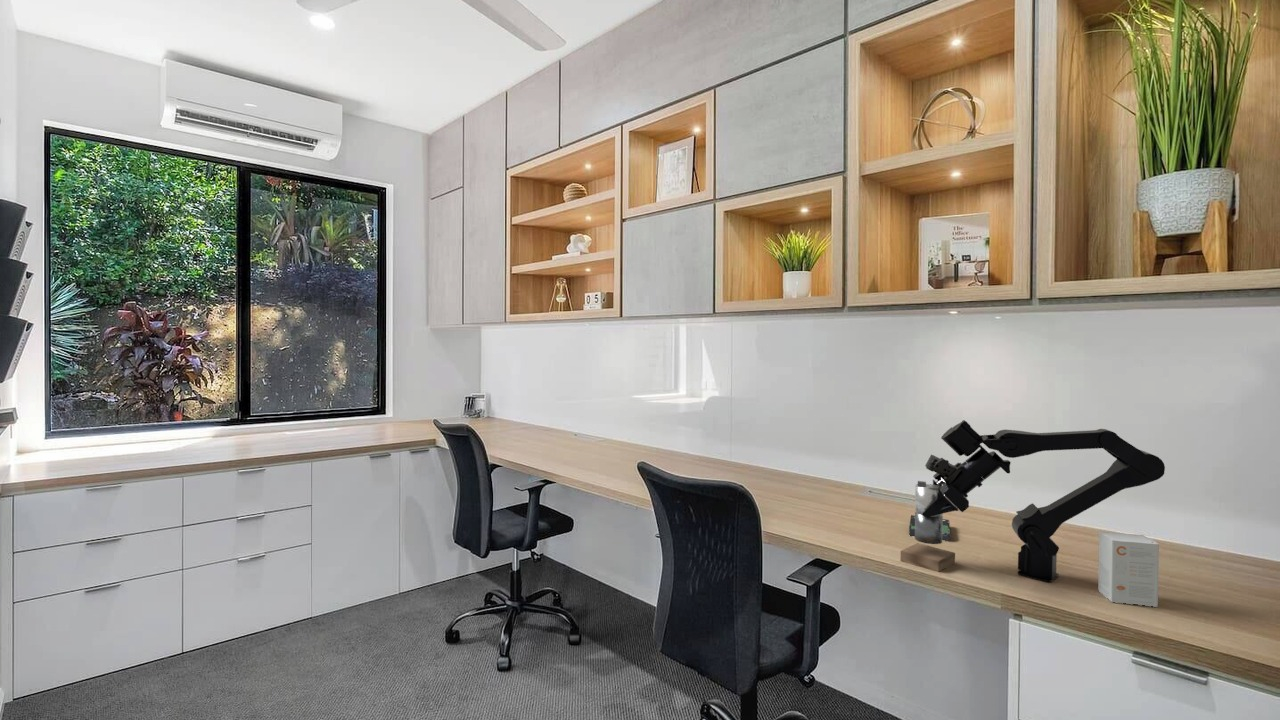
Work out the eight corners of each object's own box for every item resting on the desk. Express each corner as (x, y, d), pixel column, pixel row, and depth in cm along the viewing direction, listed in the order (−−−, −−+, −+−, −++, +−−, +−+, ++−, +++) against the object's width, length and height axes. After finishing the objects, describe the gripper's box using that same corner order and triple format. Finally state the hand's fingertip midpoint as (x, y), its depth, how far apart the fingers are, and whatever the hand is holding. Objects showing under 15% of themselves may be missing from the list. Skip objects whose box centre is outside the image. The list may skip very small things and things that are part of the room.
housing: (942, 538, 146) (942, 481, 145) (942, 545, 140) (943, 486, 140) (915, 534, 148) (915, 478, 148) (914, 541, 143) (915, 483, 143)
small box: (1142, 595, 126) (1143, 534, 125) (1158, 608, 120) (1160, 543, 119) (1096, 590, 128) (1098, 530, 128) (1110, 602, 122) (1112, 539, 122)
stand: (954, 562, 144) (955, 552, 144) (938, 571, 138) (938, 561, 138) (917, 552, 151) (917, 543, 151) (900, 560, 145) (900, 550, 145)
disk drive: (909, 524, 177) (908, 537, 164) (910, 514, 177) (909, 527, 164) (949, 528, 173) (951, 543, 160) (949, 519, 173) (951, 533, 160)
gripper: (943, 439, 151) (895, 479, 155) (953, 451, 134) (899, 495, 138) (978, 472, 148) (928, 512, 153) (992, 489, 131) (936, 533, 135)
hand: (922, 512), depth 145 cm, fingers closed on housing, 6 cm apart
